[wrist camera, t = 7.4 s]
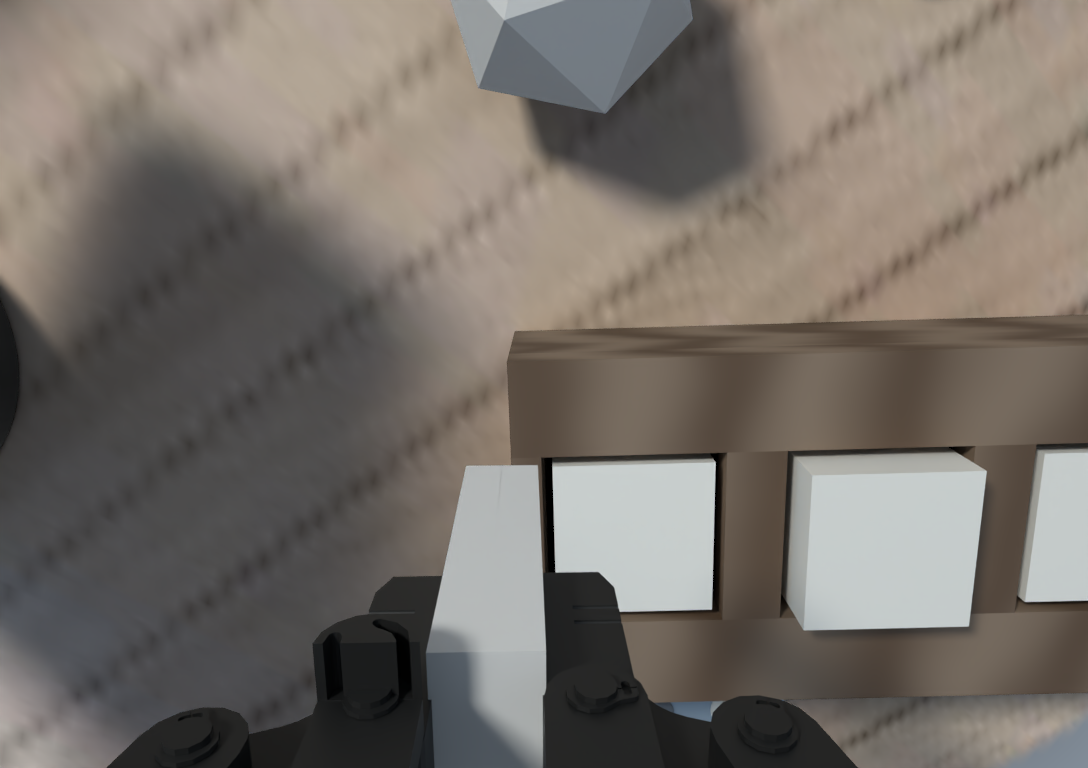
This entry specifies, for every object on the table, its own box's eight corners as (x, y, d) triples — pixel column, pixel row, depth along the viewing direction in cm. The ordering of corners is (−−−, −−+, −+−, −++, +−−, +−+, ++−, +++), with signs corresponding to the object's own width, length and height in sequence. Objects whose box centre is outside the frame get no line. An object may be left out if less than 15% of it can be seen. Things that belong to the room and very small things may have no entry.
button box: (525, 617, 36) (521, 705, 30) (514, 331, 33) (507, 362, 27) (1089, 604, 36) (1205, 690, 30) (1135, 313, 33) (1276, 340, 26)
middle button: (778, 589, 30) (803, 630, 27) (785, 447, 29) (812, 475, 26) (928, 585, 30) (969, 626, 27) (942, 443, 29) (986, 471, 26)
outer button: (981, 565, 32) (1024, 602, 29) (997, 429, 30) (1044, 453, 27) (1124, 561, 32) (1182, 598, 29) (1147, 425, 30) (1210, 449, 27)
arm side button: (555, 575, 32) (556, 613, 29) (552, 441, 31) (552, 466, 28) (697, 572, 32) (711, 609, 29) (699, 437, 31) (715, 462, 28)
